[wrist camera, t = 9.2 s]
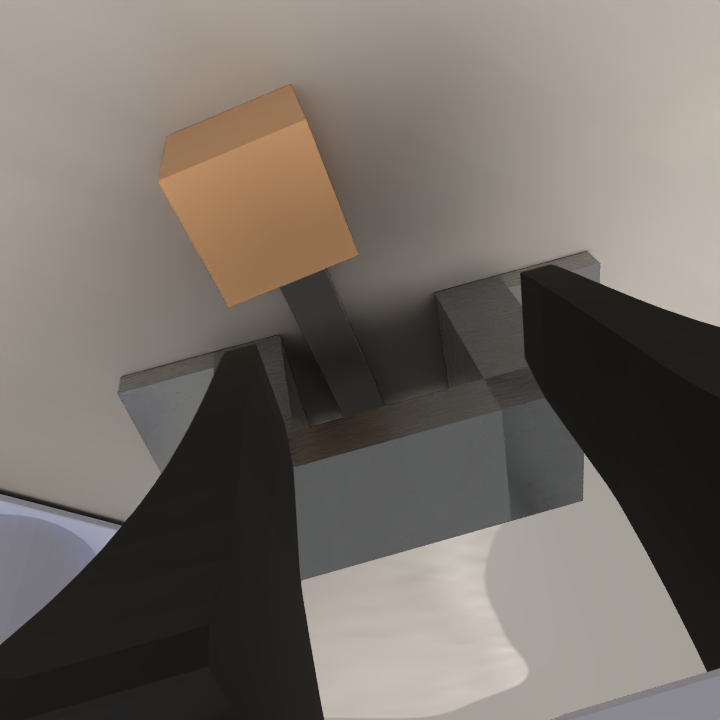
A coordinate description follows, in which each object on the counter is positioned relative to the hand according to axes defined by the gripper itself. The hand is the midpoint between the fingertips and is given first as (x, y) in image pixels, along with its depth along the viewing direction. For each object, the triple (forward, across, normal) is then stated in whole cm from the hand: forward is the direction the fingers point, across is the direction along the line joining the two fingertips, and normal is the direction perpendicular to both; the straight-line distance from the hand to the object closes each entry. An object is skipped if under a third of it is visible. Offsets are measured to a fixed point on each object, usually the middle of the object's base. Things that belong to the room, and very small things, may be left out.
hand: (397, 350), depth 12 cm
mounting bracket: (+10, 0, +8) cm, 13 cm away
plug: (+10, +1, +5) cm, 12 cm away
